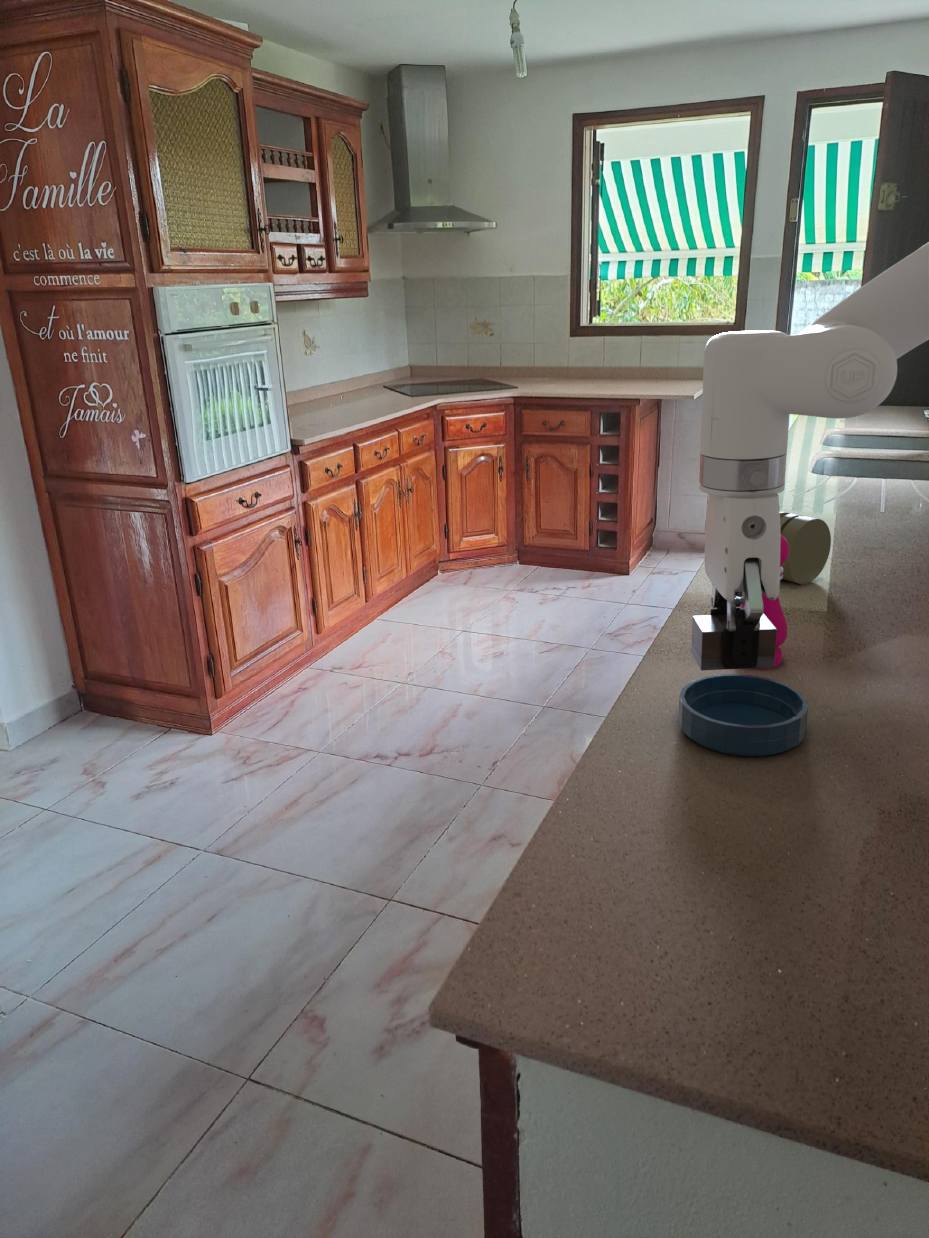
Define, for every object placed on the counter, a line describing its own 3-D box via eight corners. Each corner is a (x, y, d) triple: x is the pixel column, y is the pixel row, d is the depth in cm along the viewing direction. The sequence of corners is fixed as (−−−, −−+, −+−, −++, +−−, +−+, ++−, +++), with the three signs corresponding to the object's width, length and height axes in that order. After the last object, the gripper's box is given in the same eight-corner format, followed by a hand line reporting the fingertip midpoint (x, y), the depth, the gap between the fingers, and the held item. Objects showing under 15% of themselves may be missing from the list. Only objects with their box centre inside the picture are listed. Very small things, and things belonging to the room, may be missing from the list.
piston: (770, 561, 163) (774, 502, 159) (827, 576, 154) (833, 513, 150) (729, 574, 157) (733, 513, 153) (786, 590, 148) (791, 525, 144)
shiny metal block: (761, 649, 89) (763, 612, 87) (774, 667, 85) (777, 629, 83) (691, 652, 89) (692, 615, 88) (700, 670, 85) (702, 632, 84)
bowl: (784, 701, 110) (787, 672, 108) (822, 758, 97) (825, 725, 95) (669, 704, 111) (670, 675, 109) (690, 761, 97) (692, 728, 96)
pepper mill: (751, 646, 127) (760, 510, 120) (795, 661, 121) (807, 519, 114) (719, 660, 123) (726, 520, 116) (763, 675, 117) (773, 530, 110)
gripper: (815, 490, 72) (798, 691, 79) (757, 454, 88) (747, 624, 94) (722, 495, 73) (713, 695, 79) (681, 458, 88) (677, 627, 95)
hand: (732, 654), depth 87 cm, fingers closed on shiny metal block, 4 cm apart
